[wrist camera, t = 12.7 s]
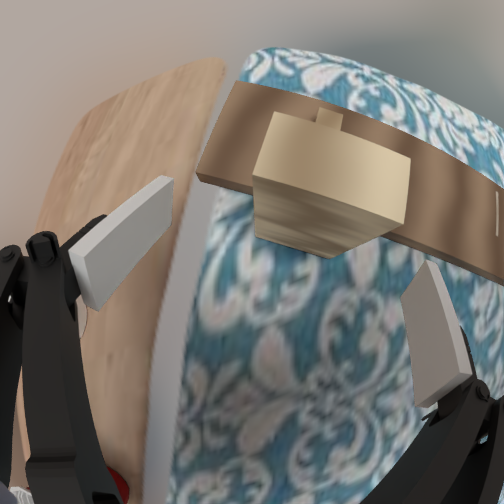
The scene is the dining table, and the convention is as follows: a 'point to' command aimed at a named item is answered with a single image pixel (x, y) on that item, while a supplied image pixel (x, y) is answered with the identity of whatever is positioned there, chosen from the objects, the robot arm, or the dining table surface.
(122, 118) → the dining table surface
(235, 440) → the dining table surface
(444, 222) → the walnut board
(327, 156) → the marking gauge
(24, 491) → the plastic cup
